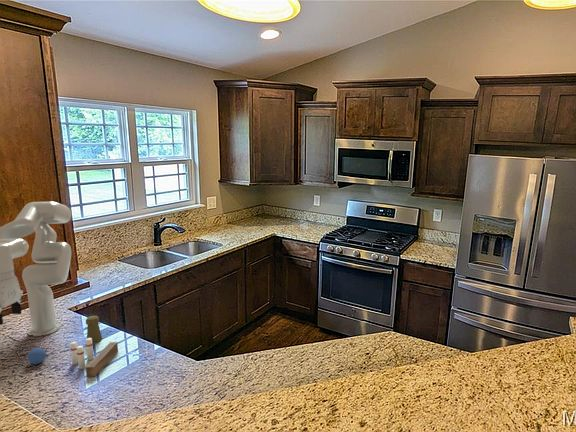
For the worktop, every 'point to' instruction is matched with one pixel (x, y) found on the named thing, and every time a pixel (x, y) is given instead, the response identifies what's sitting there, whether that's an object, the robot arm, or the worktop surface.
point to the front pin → (74, 353)
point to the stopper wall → (101, 359)
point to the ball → (36, 355)
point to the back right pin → (81, 357)
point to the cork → (93, 329)
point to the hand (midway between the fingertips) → (7, 318)
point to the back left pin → (89, 349)
